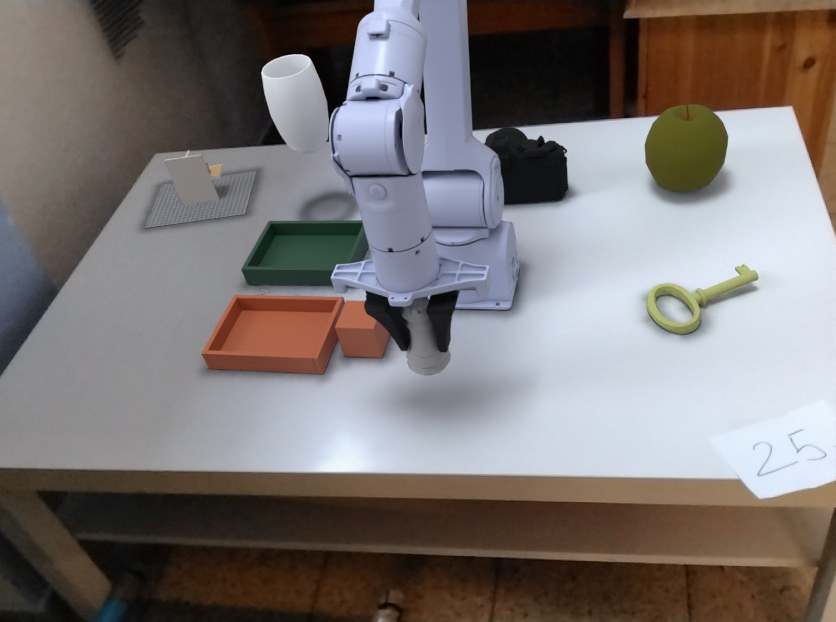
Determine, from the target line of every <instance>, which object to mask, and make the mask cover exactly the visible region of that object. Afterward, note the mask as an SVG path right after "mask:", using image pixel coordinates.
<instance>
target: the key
mask: <svg viewBox="0 0 836 622" xmlns="http://www.w3.org/2000/svg"><path fill="white" fill-rule="evenodd" d="M734 271H735V272H736V273H737V274H738V275H737V276H734V277H732V278H730V279H727V280H725V281H723V282H719V283H717V284H715V285H712V286H709V287H707V288H704V289H702V288H701V287H700V288H699V287H698V288H696V289H695V290H694V293H691V292H689V291H688V290H687V289H686V288H685V287H682V286H681V285H678V284H676V283H671V282H664V283H660V284H657V285H654V286H653V287H652V288H651V289H650V290H649V292H648V294H647V297H646V309H647V312H648V314H649V315H650V317H652V319H653V320H654V322H656V323H657V324H658V326H660V327H661V328H663V329H665V330H666V331H669V332H670V333H674V334H679V335H684V334H688V333H692V332H693V331H695V330H696V329H697V328H698V327H699V326H700V323H701V319H702V317H701V316H702V312H701V308H700V306H706V305H707V303H708V301H709V300H712V299H714V298H717V297H719V296H721V295H725V294H727V293H729V292H731V291H733V290H737V289H739V288H741V287H744V286H746V285H749V284H752V283H754V282H756V281H758V280H759V274H758V272H757V271H756V269H752V270H751V268H749V267H748V266H747V264H745V263H742V264H741V265H737V266H735V267H734ZM663 295H671V296H674V297H676V298H678V299H680V300H681V301H683V302H684V303H685V304H686V305H687V306H688V308H689V309H690V310H691V312H692V315H693V316H692V318H691V319H689V320H688V321H685V322H676V321H674V320H671V319H669V318H667V317H666V316H664V315H663V314H662V313H661V311H660V310H659V308H658V306H657V300H656V299H657V298H658V297H660V296H663ZM699 305H700V306H699Z"/></svg>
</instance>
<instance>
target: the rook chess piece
mask: <svg viewBox="0 0 836 622" xmlns="http://www.w3.org/2000/svg"><path fill="white" fill-rule="evenodd" d="M429 299H430V298H429V296H426V297H421V298H417V299H414V300H413V302H412V304H411V305H410V306H406V307H402V308H401V315H402V317H403V318H404V319H406V326H407V328H408V329H409V330H410V343H409V346H408V350H407V351H405V357H406V364H407V367H408V369H409V370H410V371H412V372H413V373H414V374H417V375H420V376H423V377H425V376H426V377H428V376H433V375H436V374H439V373H441V372H442V371H444V370H445V369H446V368H447V366H448V365H449V364H450V362H451V358H452V357H451V356H452V354H451V351H450V347H449V348H448V351H447V352H446V353H444V352H440V351H439V349H438V345H437V339H436V333H435V329H434V327H433V324H432V322H431V320H430V318H429V316H428V315H427V313H426V309H427V306H428V302H429Z"/></svg>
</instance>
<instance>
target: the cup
mask: <svg viewBox="0 0 836 622" xmlns="http://www.w3.org/2000/svg"><path fill="white" fill-rule="evenodd" d="M260 74H261V79H262V87H263V92H264V96H265V101H266V103H267V108H268V110H269V111H268V112H269V114H270V117H271V119H272V121H273V123H274V125H275V128H276V130H277V131H278V133H279V135H280V136H281V138H282V140H283V141H284V142H285V143H286V145H287V146H288V148H289V150H292V151H295V152H299V153H300V154H302V155H313V154H315V153H317V152H319V151H320V150H321V149H322V146H323V145H325V143H326V142H327V141H328V140H329V125H330V119H329V109H328V100H327V97H326V95H325V91H324V88H323V84H322V81H321V79H320V76H319V74H318V73H317V70H316V68H315V65H314V63H313V61H312V59H311V58H310V57H309V56H307V55H305V54H298V53H297V54H288V55H283V56H280V57H277V58H274V59H272V60H270V61H269V62H267V63H266V64H265V65H264V66H263V67H262V70H261V73H260Z"/></svg>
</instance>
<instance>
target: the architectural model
mask: <svg viewBox="0 0 836 622" xmlns="http://www.w3.org/2000/svg"><path fill="white" fill-rule="evenodd" d="M189 153H190V149H189V150H188V149H187V152H186V153H185V155H184V156H182V157H174V158H168V159H163V162H164V164H165V166H166V167H165V168H167V172H168V174H169V176H170V178H171V182H172V183H165V184H161V186H160V189H159V191H158V194H157V195H156V199H155V201H154V203H153V206H152V209H151V212H150V214H149V216H148V218H147V221H146V224H145V226H144V229H148V228H154V227H155V228H157V227H163V226H169V225H178V224H183V223H191V222H198V221H205V220H213V219H219V218H226V217H234V216H241V215H246V211H247V207H248V203H249V200H250V197H251V193H252V189H253V185H254V182H255V178H256V174H257V170H254V171H247V172H246V171H245V172H241V173H232V174H226V175H222V172H223V169H224V164H223V163H220V164H214V165H209V164H208V162H205V160H204V157H203V154H201V153H200V154H194V155H189Z"/></svg>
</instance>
